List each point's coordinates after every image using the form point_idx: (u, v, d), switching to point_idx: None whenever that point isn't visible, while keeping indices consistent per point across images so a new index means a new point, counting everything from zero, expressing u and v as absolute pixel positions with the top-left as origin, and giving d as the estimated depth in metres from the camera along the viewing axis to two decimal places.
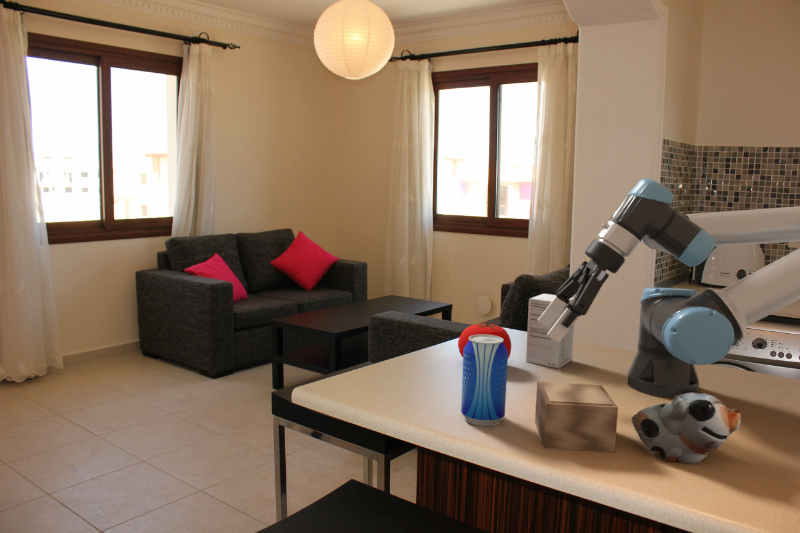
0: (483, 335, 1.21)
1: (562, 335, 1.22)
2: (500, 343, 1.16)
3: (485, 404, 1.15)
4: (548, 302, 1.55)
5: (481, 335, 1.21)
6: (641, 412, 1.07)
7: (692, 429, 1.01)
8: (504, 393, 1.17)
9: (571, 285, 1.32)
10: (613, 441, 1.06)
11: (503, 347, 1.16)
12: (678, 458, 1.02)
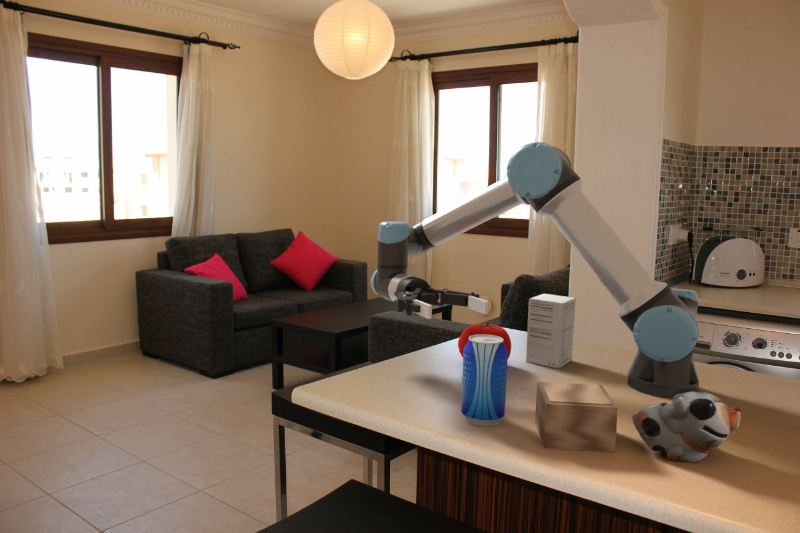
0: (483, 335, 1.21)
1: (424, 305, 1.24)
2: (500, 343, 1.16)
3: (485, 404, 1.15)
4: (548, 302, 1.55)
5: (481, 335, 1.21)
6: (642, 411, 1.08)
7: (693, 428, 1.01)
8: (504, 393, 1.17)
9: (450, 302, 1.37)
10: (613, 441, 1.06)
11: (503, 347, 1.16)
12: (679, 457, 1.03)
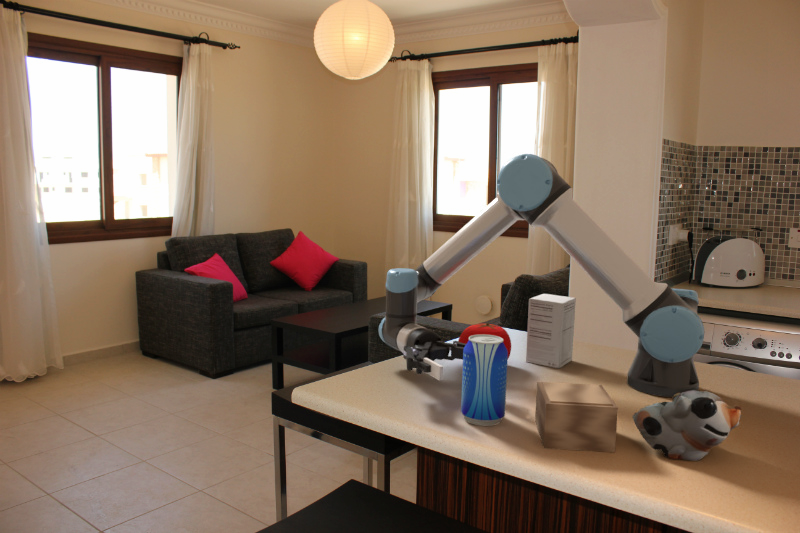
0: (483, 335, 1.21)
1: (435, 366, 1.20)
2: (500, 343, 1.16)
3: (485, 404, 1.15)
4: (548, 302, 1.55)
5: (481, 335, 1.21)
6: (643, 410, 1.08)
7: (695, 427, 1.02)
8: (504, 393, 1.17)
9: (461, 357, 1.33)
10: (613, 441, 1.06)
11: (503, 347, 1.16)
12: (680, 455, 1.03)
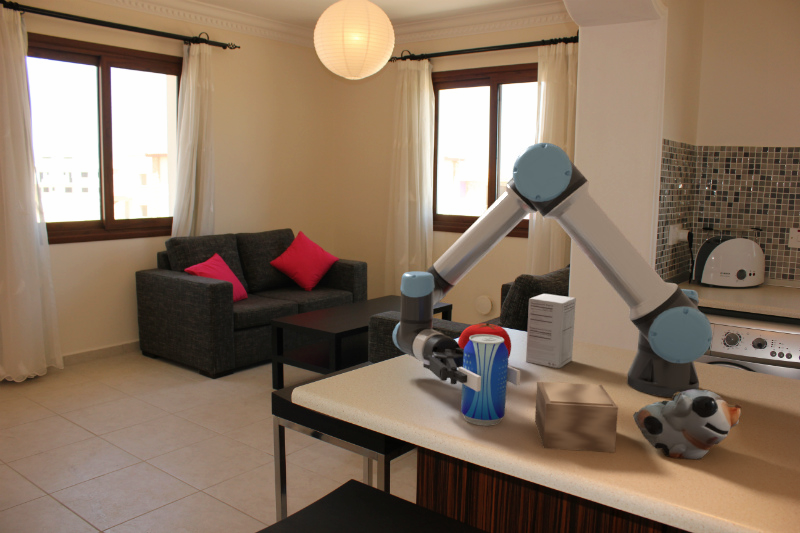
0: (484, 335, 1.21)
1: (472, 376, 1.14)
2: (501, 343, 1.16)
3: (486, 404, 1.15)
4: (548, 302, 1.55)
5: (482, 335, 1.21)
6: (643, 409, 1.09)
7: (696, 426, 1.02)
8: (504, 393, 1.17)
9: None
10: (613, 441, 1.06)
11: (504, 346, 1.16)
12: (681, 454, 1.04)
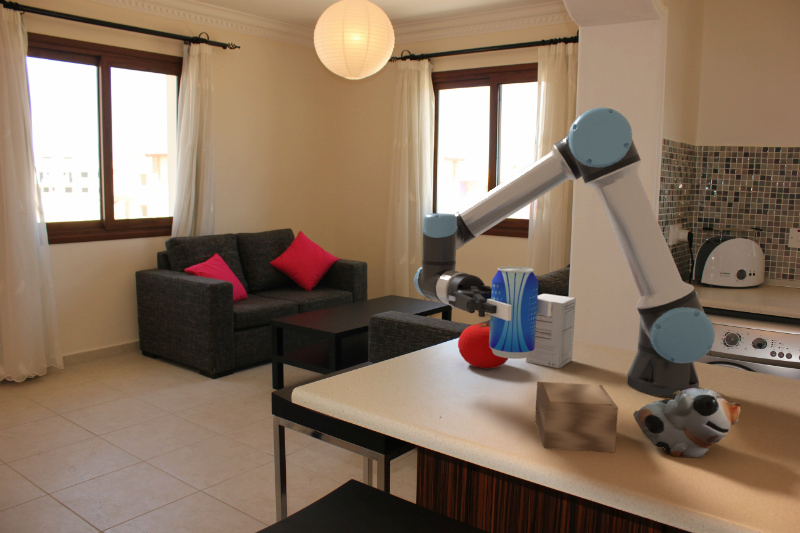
0: (512, 267, 1.17)
1: (502, 305, 1.10)
2: (531, 272, 1.12)
3: (516, 335, 1.11)
4: None
5: (510, 267, 1.17)
6: (644, 408, 1.09)
7: (697, 424, 1.03)
8: (534, 325, 1.13)
9: None
10: (613, 441, 1.06)
11: (534, 276, 1.12)
12: (683, 453, 1.05)
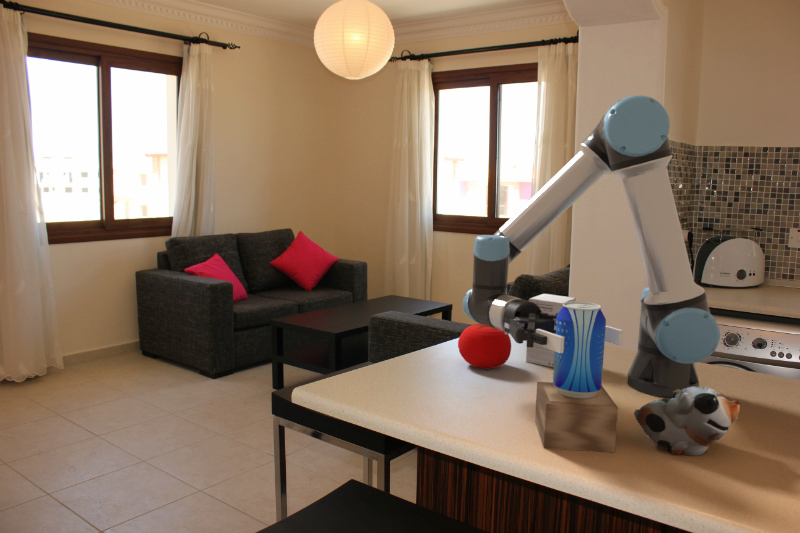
0: (576, 302, 1.13)
1: (554, 337, 1.06)
2: (599, 309, 1.08)
3: (584, 375, 1.07)
4: (548, 302, 1.55)
5: (574, 302, 1.13)
6: (645, 407, 1.10)
7: (698, 422, 1.04)
8: (602, 363, 1.09)
9: None
10: (613, 441, 1.06)
11: (602, 313, 1.08)
12: (684, 451, 1.05)
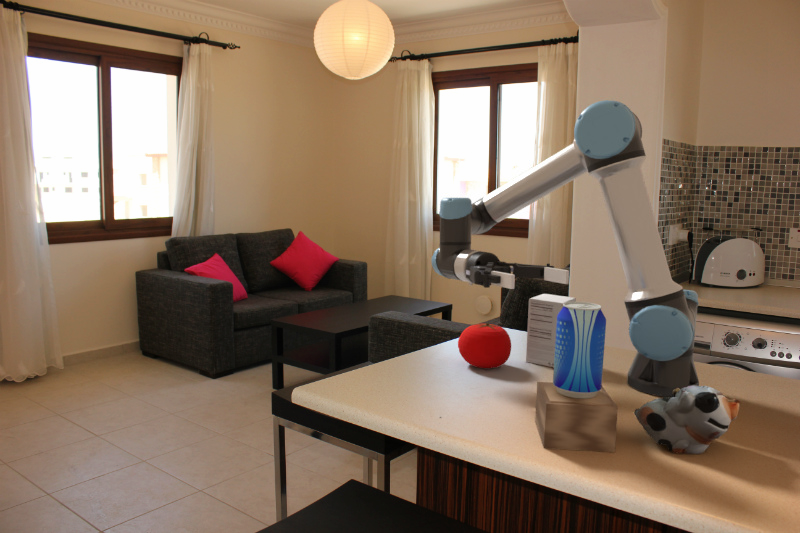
0: (576, 302, 1.13)
1: (506, 275, 1.19)
2: (599, 309, 1.08)
3: (584, 375, 1.07)
4: (548, 302, 1.55)
5: (574, 302, 1.13)
6: (645, 406, 1.10)
7: (698, 421, 1.04)
8: (602, 363, 1.09)
9: (524, 275, 1.32)
10: (613, 441, 1.06)
11: (602, 313, 1.08)
12: (684, 449, 1.06)
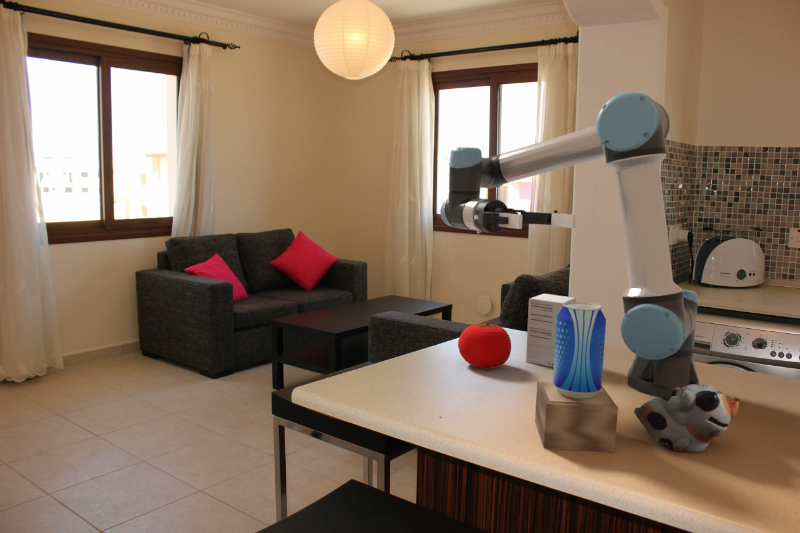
0: (576, 302, 1.13)
1: (514, 216, 1.21)
2: (599, 309, 1.08)
3: (584, 375, 1.07)
4: (548, 302, 1.55)
5: (574, 302, 1.13)
6: (646, 405, 1.11)
7: (699, 420, 1.05)
8: (602, 363, 1.09)
9: (531, 221, 1.34)
10: (613, 441, 1.06)
11: (602, 313, 1.08)
12: (685, 448, 1.06)
